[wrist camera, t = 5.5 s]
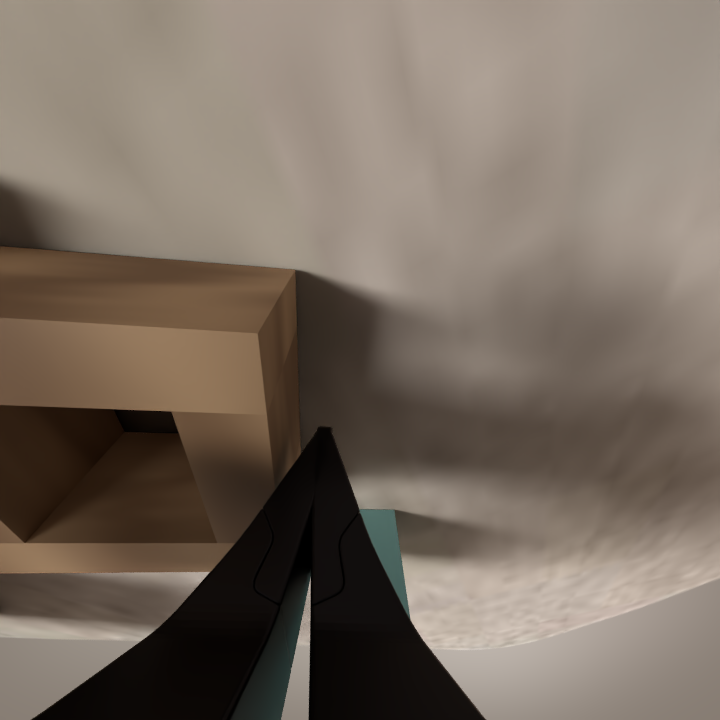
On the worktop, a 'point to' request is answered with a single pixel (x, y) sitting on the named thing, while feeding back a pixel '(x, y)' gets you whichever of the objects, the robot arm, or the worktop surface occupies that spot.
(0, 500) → the socket block
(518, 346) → the worktop surface
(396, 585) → the turquoise rectangular prism
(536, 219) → the worktop surface
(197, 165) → the worktop surface
